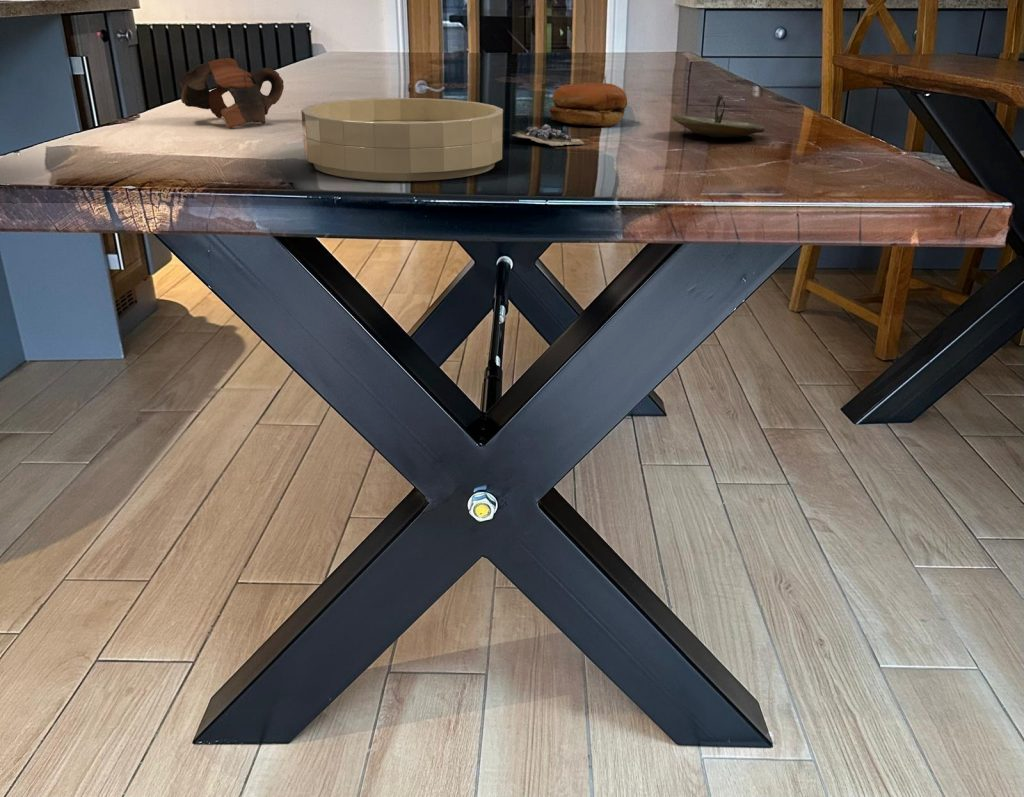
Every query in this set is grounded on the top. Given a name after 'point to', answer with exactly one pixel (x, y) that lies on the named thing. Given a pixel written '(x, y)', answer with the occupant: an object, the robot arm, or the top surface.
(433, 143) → the bowl
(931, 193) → the top surface
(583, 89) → the burger
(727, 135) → the lid
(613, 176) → the top surface
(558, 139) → the blueberries
